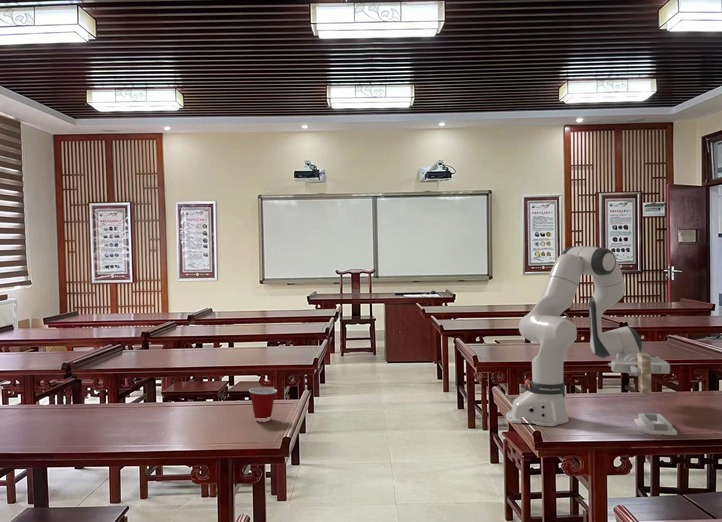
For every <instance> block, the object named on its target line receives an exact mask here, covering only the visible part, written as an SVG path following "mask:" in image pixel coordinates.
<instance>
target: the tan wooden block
mask: <svg viewBox="0 0 722 522" xmlns="http://www.w3.org/2000/svg"><path fill="white" fill-rule="evenodd" d="M637 356H638V368H640V371H641V373H638V376H637V390H638V391H639V393H641V394H642V395H652V374H651V356H652V355H649V354H648V353H647V352H640V353H637Z"/></svg>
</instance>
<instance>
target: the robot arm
mask: <svg viewBox="0 0 722 522" xmlns="http://www.w3.org/2000/svg"><path fill="white" fill-rule="evenodd" d="M581 275H584V276H592V282H593V285H594V291H593V294H592V296H591V297H590V298H589V303H588V314H589V315H588V316H589V332H590V335H589V336H590V339H589V346H590V349H591V351H592V354H593V355H595V356H597V357H598V358H601V359H604V358H608V357H611V356H614V355H616V356H615V358H616V359H615V360H611V362H608V363H607V365H608V367H611V371H612V372H613V373H627V374H629V375H631V376H634V377H638V373H641V371H640V368H638V356H637V353H642V349H643V343H642V340H641V337H640V335H639V333H638V332H637V331H636V330H635V329H634V328H632V327H631V326H628V325H626V326H622V327H617V328H614V329H612V330H611V329H610V330H607V331H603V327H602V315H603V314H604V313H605V311H607V310H608V309H609V308H611V307H612V306H614V305H615V304H617V303H618V302H619V301H620V300H621V299H622V298H623V297H624V295H625V292H626V284H625V281H624V280H625V279H624V276H623V273H622V270H621V268H620V265H619V262H618V261H617V259H616V255H615V254H614V252H613V251H612V250H611V249H609V248H606V247H597V246H596V247H595V246H588V245H581V246H580V245H579V246H575V245H574V246H573V245H572V246H569V247H566V248H565V249H563V251H562V253H561V254H560V255H559V256H558V257H557V259H556V261H555V262H554V264H553V265H552V268H551V270H550V273H549V275H548V278H547V281H546V284H545V286H544V289H543V292H542V294H541V296H540V297H539V300H538V301H537V303H536V304H535V306H534V307H533V308H532V309H531V310H530V312H528V313H527V314H526V315H524V316H523V317H521V318H520V321H519V323H518V330H519V334H520V335H521V337H523V338H524V339H526V340H528V341H530V342H533V343H537V344H539V345H540V346H539V351H538V354H537V355H536V356H534V357H533V359H532V361H531V373H532V374H531V375H532V376H531V377H532V378H531V380H529V379H526V380H525V381H524V385H525V386H526V391H524V392H523V393H522V394H520V395H519V396H517V397H516V398H514V400H513V401H512V406H511V410H509V411H507V412H506V415H505V418H506V421H508V422H510V423H513V424H521V420H520V419H521V418H522V417H524V418H527V419H529V420H530V421H531V422H532V423H534V424H536V425H535V426H544V427H546V426H547V427H555V426H558V425H562V424H566V423H568V422H569V420H570V419H569V416H568V414H567V409H566V403H565V402H566V401H565V396H566V385H565V381H564V362H565V357H566V353H567V351H568V349H569V348H570V346H571V345H573V344H574V343H575V341H576V339H577V336H578V331H577V327H576V324H575V323H574V322H572V321H571V320H569V319H568V318H565V317H562V316H561V315H562V314H563V313H564V312H565V311H566V310H567V309H569V308H570V307H571V306H572V304H573V302H574V300H575V296H576V293H577V290H578V288H579V284H580V281H581V278H582V277H581ZM650 356H651V375H652V374H664V375H665V374H667V375H668V374H671V373H670V372H671V364H670V363H669V362H668V361H666V360H664V359H661V358H660V356H656V355H650Z"/></svg>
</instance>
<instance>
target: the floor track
mask: <svg viewBox="0 0 722 522" xmlns="http://www.w3.org/2000/svg"><path fill="white" fill-rule="evenodd" d="M637 414H638V418H634V419H633V421H634V424H636V425H637V427H638V428H639V427H640V428H639V429H640V430H641V431H642V432H643V433H644V434H645V433H649V434H648V435H663V434H664V436H665V435H668V436H678V431H677V430H676V429H675V428H674V427H673V424H672V423H670V422H669V421H668V420H667V418H665V417H664V416H663V415H662V414H660V413H641V412H640V413H637Z"/></svg>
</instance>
